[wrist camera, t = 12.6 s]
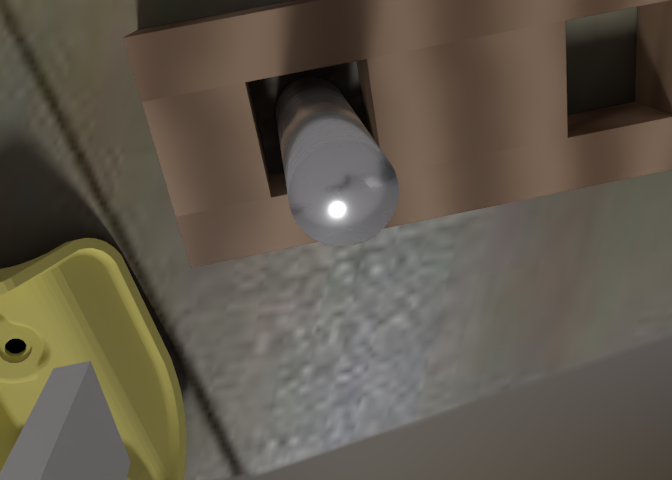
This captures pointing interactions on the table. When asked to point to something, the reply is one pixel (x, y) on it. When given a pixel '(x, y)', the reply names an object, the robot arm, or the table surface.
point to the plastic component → (91, 351)
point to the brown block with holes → (395, 107)
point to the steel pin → (332, 166)
